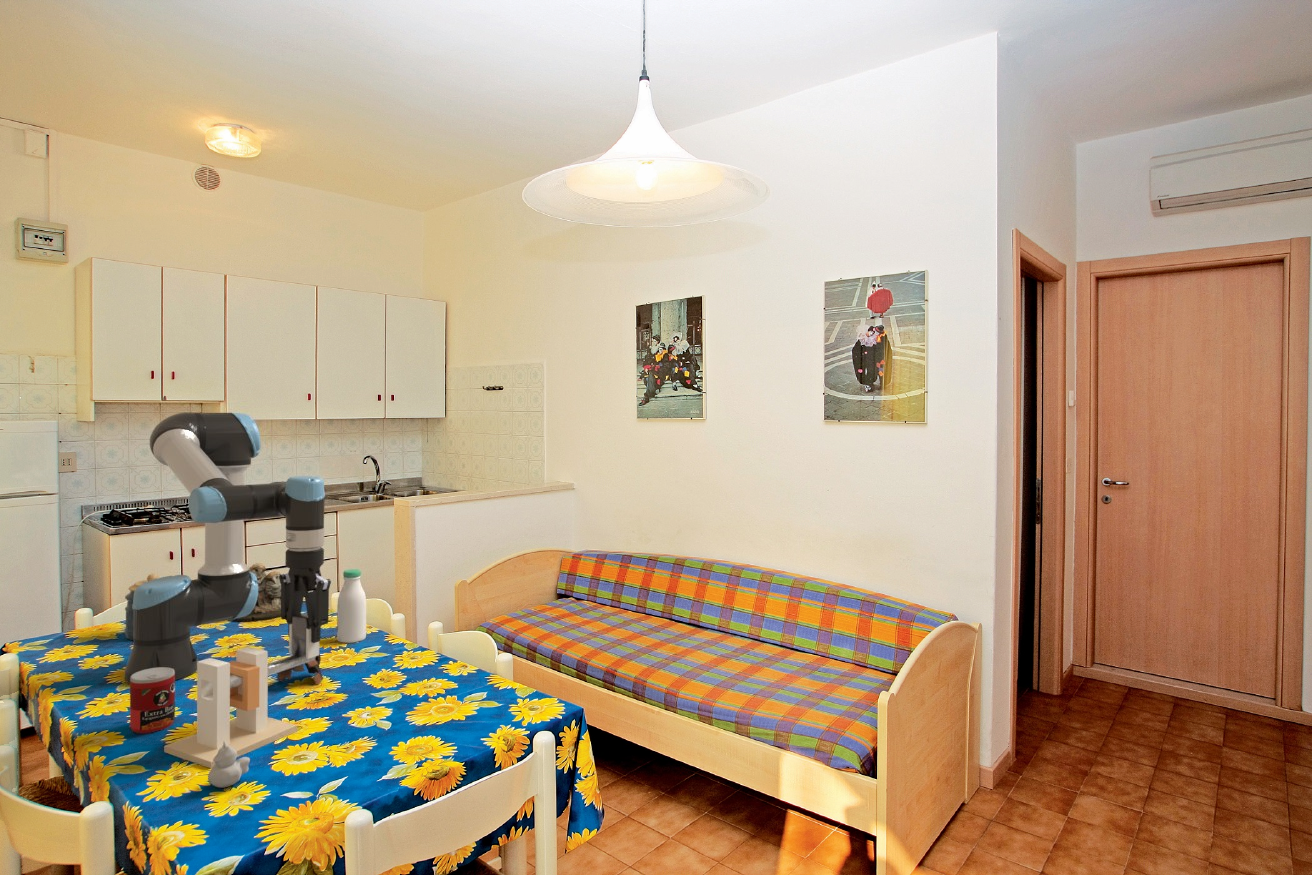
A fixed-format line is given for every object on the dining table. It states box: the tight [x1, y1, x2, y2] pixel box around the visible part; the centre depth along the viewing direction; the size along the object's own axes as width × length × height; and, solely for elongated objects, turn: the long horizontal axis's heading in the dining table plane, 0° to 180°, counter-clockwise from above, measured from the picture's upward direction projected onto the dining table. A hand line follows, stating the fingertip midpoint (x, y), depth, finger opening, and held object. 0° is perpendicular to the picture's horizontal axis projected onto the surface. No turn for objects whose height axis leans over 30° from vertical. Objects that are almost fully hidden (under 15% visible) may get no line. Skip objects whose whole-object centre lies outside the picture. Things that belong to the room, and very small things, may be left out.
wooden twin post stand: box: [163, 646, 298, 770], centre depth 145 cm, size 14×18×17 cm
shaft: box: [230, 612, 316, 689], centre depth 152 cm, size 21×5×10 cm, turn 155°
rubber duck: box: [207, 742, 251, 789], centre depth 129 cm, size 5×7×8 cm
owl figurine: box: [232, 562, 288, 623], centre depth 233 cm, size 18×12×17 cm, turn 131°
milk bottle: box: [336, 568, 367, 644], centre depth 211 cm, size 8×8×20 cm
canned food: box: [129, 667, 176, 734], centre depth 152 cm, size 8×8×11 cm
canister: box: [124, 573, 159, 641], centre depth 212 cm, size 13×13×18 cm
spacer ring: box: [227, 660, 260, 711], centre depth 146 cm, size 8×2×8 cm, turn 64°
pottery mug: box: [276, 653, 324, 686], centre depth 179 cm, size 12×10×8 cm
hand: (304, 654), depth 160 cm, fingers closed on shaft, 5 cm apart
